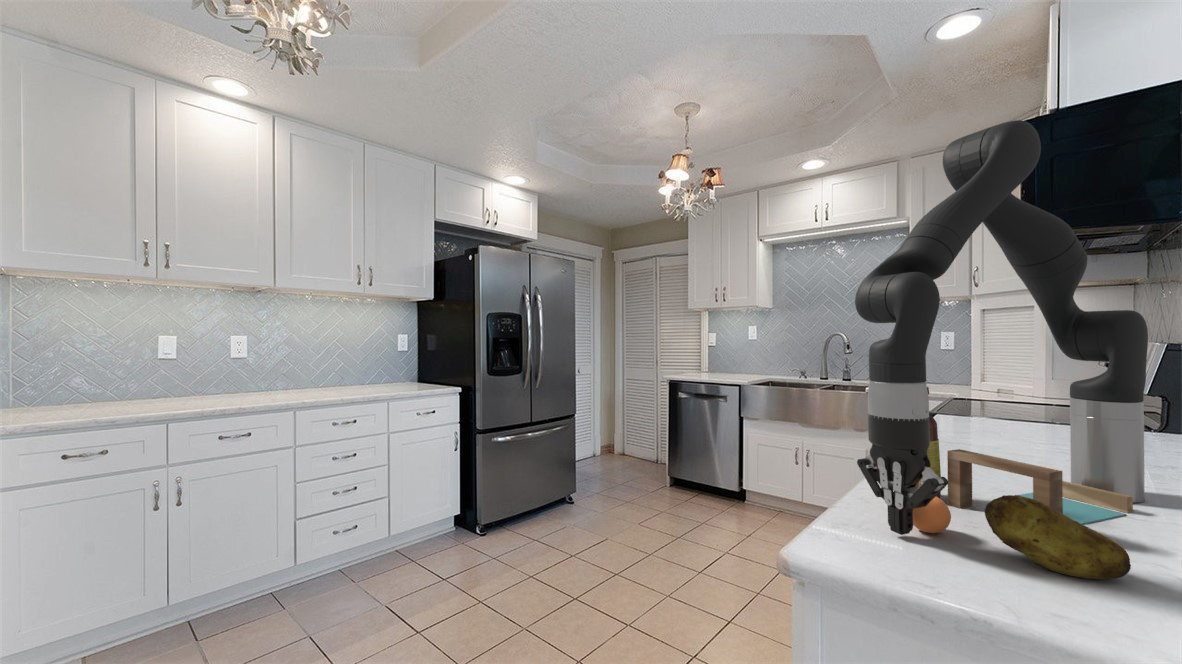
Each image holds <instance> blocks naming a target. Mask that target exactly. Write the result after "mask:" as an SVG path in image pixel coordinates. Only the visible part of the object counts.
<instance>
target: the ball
mask: <svg viewBox="0 0 1182 664" xmlns="http://www.w3.org/2000/svg"><path fill="white" fill-rule="evenodd" d="M951 515H952V513H951V510H950V508H949V507H948V504H947V503H945V501H944V500H942V499H941V497H940V498H938V497H935V498H934V499H933V500H932V501H931V502H930V503H929V504H928V505H927V506H925V507H920V508H914V509H913V527H915V528H916V529H918V530H919V531H921V532H924V533H927V534H937V533H942V532H943V531H945V530H946V529H947V528H948V527H949V525H950V524H951V520H952V516H951Z"/></svg>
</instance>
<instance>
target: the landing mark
mask: <svg viewBox="0 0 1182 664" xmlns="http://www.w3.org/2000/svg"><path fill="white" fill-rule="evenodd" d="M1018 495H1019V496H1022V497H1027V498H1031V499H1033V492H1029V493H1028V492H1027V493H1023V494H1022V493H1021V494H1018ZM994 499H995V498H993V499H992V500H994ZM1063 515H1065V516H1067V517H1069V518H1071V519H1072V520H1074V521H1077V522H1079V523H1080V524H1082V525H1087V524H1091V523H1096V522H1101V521H1105V520H1111V519H1115V518H1120V517H1124V516H1127V514H1126V513H1125V512H1121V511H1117V510H1113V509H1109V508H1105V507H1101V506H1097V505H1093V504H1089V503H1085V502H1081V501H1078V500H1074V499H1070V498H1066V497H1063Z"/></svg>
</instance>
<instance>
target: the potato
mask: <svg viewBox="0 0 1182 664" xmlns="http://www.w3.org/2000/svg"><path fill="white" fill-rule="evenodd" d="M1019 495H1020V494H1014V495H1012V494H1011V495H1002V496H999V497H997V498H993V499H994V500H993V499H992V500H990V501H989V502H988V503H987V504H986V505H985V507H984V516H985V519H986V522H987V524H988V526H989V527H990V529H991V531H992V533H993V534H994V535H996V537H998V540H1000V541H1001V542H1002V544H1005V545H1006V546H1007V547H1009V548H1011V549H1013V550H1014V551H1017V552H1018V553H1021V554H1023V556H1025V557H1027V558H1029V559H1030V560H1032V561H1033V562H1034V563H1036V564H1037V565H1038V566H1039V565H1040V566H1041V567H1044V568H1045V569H1048V570H1050V571H1053V572H1056V573H1059V574H1062V575H1066V576H1070V577H1075V578H1081V579H1082V578H1083V579H1091V580H1115V579H1120V578H1123V577H1124V576H1126V575H1127V574H1128V573H1129V572H1130V570H1131V567H1132V564H1131V558H1130V555H1129V553H1128V552H1127V551H1126V550H1125V548H1124V547H1123V546H1121V544H1119V543H1118V542H1116V541H1114V540H1113V539H1111V538H1110V537H1108V536H1106V535H1104V534H1102V533H1101V532H1098V531H1096V530H1093V529H1092V528H1090V527H1088V526H1086V525H1085V524H1083V525H1082V524H1080V523H1079V522H1077V521H1074V520H1072V519H1071V518H1069V517H1067V516H1065V515H1063V514H1062V513H1060V512H1058V511H1056V510H1055V509H1053V508H1052V507H1050V506H1048V505H1046V504H1044V503H1042V502H1040V501H1037V500H1034V499H1031V498H1027V497H1022V496H1019Z"/></svg>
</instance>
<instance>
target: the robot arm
mask: <svg viewBox="0 0 1182 664" xmlns="http://www.w3.org/2000/svg"><path fill="white" fill-rule="evenodd" d="M1041 142H1042V141H1041V140H1040V135H1039V133H1038V130H1037V129H1036V128H1035V127H1034V126H1033V125H1032V124H1031V123H1029V122H1028V121H1025V120H1019V119H1018V120H1017V119H1016V120H1009V121H1006V122H1005V121H1004V122H1002V123H999V124H996V125H992V126H990V127H986V128H984V129H982V130H979V131H975V132H973V133H970V134H967V135H965V136H962V137H959V138H957V139H955V140H953V141H951V142H950V143H949V144H948V145H947V146H946V148H945V149H944V151H943V154H942V167H943V171H944V173H945V176H946V179H947V180H948V182H949V184H950V185H951V187H952V188H953V190H954V192H952V194H950V195H949V196H947V197H946V198H945V199H943V200H941V201H940V202H939V203H938V204H937V205H936V206H934V207H933V208H931V209H930V210H929V211H928V212H926V214H925V215H923V216H922V217H921V218H920V220H918V222H917V223H916V224H915V226H914V227H913V228H912V230H910V232H909V233H908V235H907V237H905V239H904V241H903V242H902V244H901V245H900V247H899V248H898V249H897V250H896V251H895V252H894V253H892V254H890V255H889V256H888V257H887V258H885V259H884V260H883V261H882V262H881V263H880V264H879V265H877V267H875V268H874V269H873V270H871V272H869V273H868V274H867V275H866V276H865V277H864V279H862V281H861V283H860V284H859V285H858V287H857V290H856V293H855V298H854V305H855V310H856V311H857V314H858V315H859V316H860V318H862V319H863V320H864V321H867V322H869V323H873V324H895V325H894V328H893V330H892V333H891V335H890V336H889V338H884V339H880V340H877V341H874V342H873V343H872V344H870V346H869V350H868V379H869V381H868V384H869V385H868V390H867V391H868V392H867V419H868V421H867V423H868V424H867V426H868V427H867V430H868V441H869V443H870V444H871V447H870V449H869V455H868V456H866V457H861V458H859V459H857V461H856V464H857V466H858V468H859V470H860V471H861V473H862V475H863V477H864V478H865V480H866V482H867V484H868V485H869V487H870V489H871V491H872V492H873V494H874V496H875V497H876V498H881V499H883V501H884V502H885V504H886V505H887V523H888V526H889V529H890V532H894V533H895V534H898V535H902V536H903V535H907V534H908V535H909V534H910V532H911V531H913V529H914V525H913V509H914V508H920V507H925V506H927V505H928V504H929V503H930V502H931V501H932V500H933V499H934V498H935V497H936V496H937V495H938V494H939V493H940V492H942V491H943V490H944V489H945V488H946V487H948V478H947V477H945V476H941V477H938V476H937V475H936V474H935V473H934V471H933V470H932V469H931V468H930V467H931V463H930V460H929V458H928V455H927V450H928V447H929V445H930V429H929V412H930V399H929V394H928V391H927V387H928V385H927V364H926V363H927V360H926V358H927V357H926V356H927V355H926V354H927V351H928V348H929V344H930V340H931V336H932V333H933V329H934V326H935V322H936V319H937V315H938V312H939V308H940V303H941V302H940V301H941V297H940V292H939V291H940V290H939V287H938V286H937V284H936V282H935V280H937V279H939V278H940V277H941V276H943V275H945V273H946V272H947V271H948V270H949V268H950V267H951V265H952V264H953V262H954V261H955V259H956V257H957V256H958V255H959V253H960V252H961V251H962V249H963V247H964V246H965V245H966V243H967V242H968V240H969V238H970V237H971V236H972V235H973V234H974V232H975V231H976V230H977V229H978V227H980V225H981V224H982V223H983V225H984V226H985V228H986V229H987V230H988V232H989V233H990V234H991V236H992V237H993V238H994V240H995V242H996V243H997V245H998V246H999V248H1000V250H1002V253H1003V254H1004V256H1005V259H1007V261H1008V262H1009V264H1010V266H1011V267H1012V269H1013V270H1014V272H1015V273H1016V275H1017V276H1018V277H1019V279H1020V280H1021V281H1022V282H1023V283H1022V284H1024V285H1025V288H1027V290H1028V291H1029V293H1030V295H1031V296H1032V298H1033V300H1034V301H1035V303H1036V305H1037V306H1038V308H1039V310H1040V312H1041V315H1042V316H1043V318H1044V320H1045V321H1046V324H1047V326H1048V328H1049V331H1050V333H1051V335H1052V337H1053V339H1054V341H1055V343H1056V345H1057V346H1058V349H1059V350H1060V351H1061V352H1062V353H1063V354H1064V355H1065V356H1066V357H1067V358H1069V359H1072V360H1075V361H1084V362H1085V361H1086V362H1101V363H1102V362H1103V363H1105V362H1106V363H1108V366H1107V369H1106V370H1105V371H1104V372H1103V373H1100V375H1097V376H1094V377H1093V376H1092V377H1090V378H1086V379H1080V380H1076V381H1073V382H1072V383H1070V385H1069V419H1070V421H1069V426H1070V428H1069V429H1070V432H1069V433H1070V435H1069V437H1070V438H1069V439H1070V483H1075V484H1079V485H1084V486H1088V487H1092V488H1097V489H1101V490H1106V491H1110V492H1115V493H1119V494H1123V495H1128V496H1132V497H1133V504H1134V503H1135V504H1136V503H1143V502H1144V501H1146V500H1145V414H1144V407H1145V405H1144V399H1145V398H1144V393H1145V388H1146V380H1147V358H1148V347H1149V331H1148V326H1147V322H1146V319H1145V318H1144V316H1143V315H1142V314H1141V313H1139V312H1138V311H1135V310H1131V309H1130V310H1128V309H1127V310H1126V309H1124V310H1123V309H1122V310H1121V309H1118V310H1092V311H1090V310H1088V311H1087V310H1086V311H1085V310H1082V309H1081V308H1080V307H1079V306H1078V304H1077V303H1076V301H1075V299H1074V295H1075V293H1076V290H1077V288H1078V286H1079V285H1080V283H1081V281H1082V279H1083V277H1084V274H1085V272H1086V269H1087V265H1088V254H1087V251H1086V250H1085V248H1084V246H1083V244H1082V243H1081V241H1080V239H1079V238H1078V237H1077V234H1076V233H1075V232H1074V231H1075V230H1074V229H1073V228H1072V227H1071V226H1070V225H1069V224H1068V223H1067V222H1066V221H1064V219H1061V218H1060V217H1058V216H1056V215H1055V214H1052V212H1051V213H1050V212H1048V211H1046V210H1044V209H1042V208H1040V207H1037V206H1035V205H1032V204H1031V203H1028V202H1026V201H1024V200H1022V199H1020V198H1018V197H1017V196H1015V195H1014V194H1013V191H1014V190H1016V189H1017V188H1018V187H1019V186H1020V185H1021V184H1022V183H1023V182H1024V181H1025V180H1026V179H1027V178H1028V177H1029V176H1030V174H1031V173H1032V172H1033V171H1034V170H1035V168H1036V166H1037V164H1038V163H1039V160H1040V157H1041V152H1042V144H1041ZM922 477H923V478H922ZM921 478H922V480H921ZM920 480H921V481H920ZM919 481H920V483H921V485H922V486H921V487H920V488H919ZM918 488H919V489H918Z"/></svg>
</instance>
